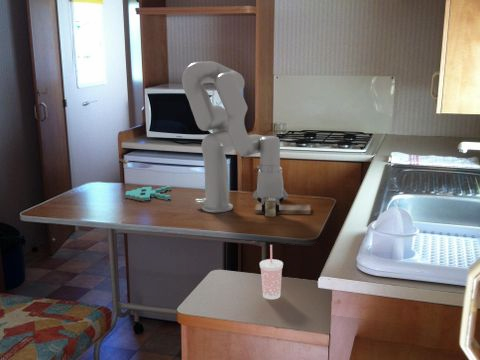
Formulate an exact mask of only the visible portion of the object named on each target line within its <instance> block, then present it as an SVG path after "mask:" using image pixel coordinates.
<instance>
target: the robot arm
mask: <svg viewBox="0 0 480 360" xmlns="http://www.w3.org/2000/svg"><path fill="white" fill-rule="evenodd" d="M183 71H184V72H183V74H182V76H181V82H182V83H181V84H182V88H183V91H184V93H185V96H186V98H187V100H188V102H189V106H190V109H191V112H192V115H193V117H194V121H195V123H196V125H197V127H198V129H200V130H201V131H204V132H205V131H212V132H211V133H209V134H207V135H206V136H204V138H203V139H202V142H201V152H202V157H203V163H204V164H203V165H204V166H203V167H204V187H205V188H204V189H205V190H204V191H205V193H204V194H205V197H204V198H195V202H194V203H195V204H197V205H202V207H201V208H202V210H203V211H204V212H207V213H215V214H216V213H225V212H229V211H231V210H233V206H234V205H233V204H232V203H230V202H229V201H230V199H229V197H230V196H229V195H230V194H229V193H230V192H229V166H228V161H227V157H226V154H228V153H231V152H233V151H234V150H235V151H236V152H237V154H238V155H240V157H244V158H248V157H250V156H253V155H257V154H259V155H260V157H259V159H260V160H259V161H260V164H258V165H256V169H258V170H259V171H258V172H257V173H258V174H257V180H256V181H257V183H256V190H255V191H254V193H253V194H252V198H253V199H255V200H257V201H258V203H259V204H261V205H262V212H264V214H263V215H265V200H266V199H268V198H276V205H275V214H276V216H277V215H278V214H277V212H279V205H281V203H283V201H284V200H286V199H287V198H289V194H288V193H287V192H286V190H285V188H284V178H283V171H282V172H281V171H280V167H281V154H280V153H281V150H280V149H281V148H280V147H281V142H280V138H279V137H278V136H276V135H260V134H258V133H257V134H256V133H255V134H253V133H252V134H249V135H248V132H247V129H246V125H245V117H246V114H247V112H248V105H247V103H246V100H245V98H244V96H243V93H242V90H243V89H244V88H245V83H246V82H245V78H244V77H243V75H242V74H241V73H239V72H238V71H236V70H234V69H232V68H229V67H227V66H225V65H223V64H222V63H218V62H217V61H209V60H207V61H195V62H192V63H190V64H188V65H187V67H186V68H185V69H184V70H183ZM211 83H212V84H214V88H215V90H216V91H217V94H218V97H219V98H220V101H221V104H222V105H223V107H222V106H220V105H218V104H217V105H213V103H212V101H211V98H210V95H209V93H208V91H207V90H206V88H205V87H204V84H211ZM282 196H283V197H282ZM279 198H280V199H279Z"/></svg>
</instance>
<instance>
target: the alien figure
mask: <svg viewBox="0 0 480 360" xmlns="http://www.w3.org/2000/svg"><path fill="white" fill-rule="evenodd" d="M166 189H171V190H172V187H171V185H166V186H165V187H164V186H163V187H160V188H155V189H153V187H152V186H142V187H141V188H140V187H137V188H136V189H131V190H127V191H126V192H125V196H130V197H135V198H139V199H145V200H148V199H149V200H150V201H151V198H150V196H155V197H160V198H165V199H170V200H171V195H170V194H165V193H163V194H162V192H161V191H166ZM156 192H161V193H156ZM166 192H167V191H166ZM155 197H154V198H155ZM160 198H159V199H160ZM165 199H164V200H165Z"/></svg>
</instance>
